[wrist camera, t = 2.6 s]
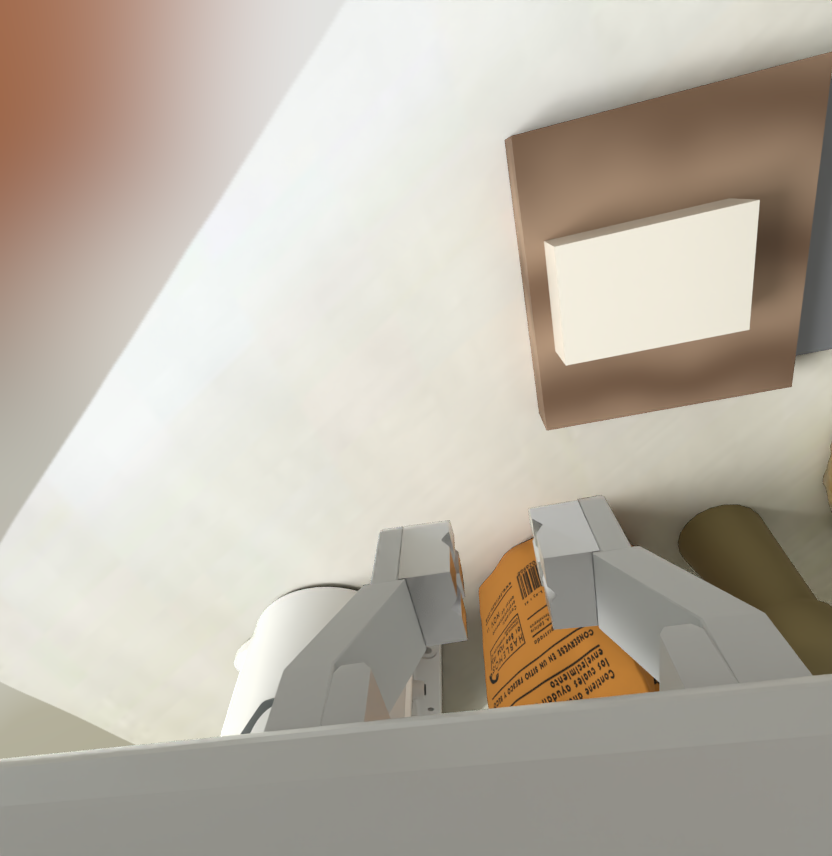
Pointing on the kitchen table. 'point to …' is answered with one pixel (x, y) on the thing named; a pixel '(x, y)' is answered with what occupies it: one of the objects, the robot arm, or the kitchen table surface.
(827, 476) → the pastry
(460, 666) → the kitchen table surface
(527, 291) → the stand
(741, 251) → the tile
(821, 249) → the mat
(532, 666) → the coffee package
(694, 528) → the cork
